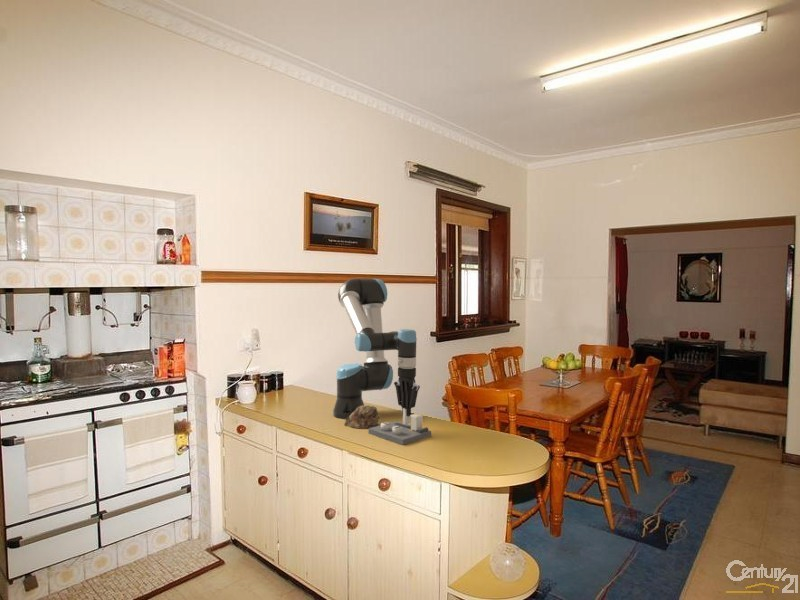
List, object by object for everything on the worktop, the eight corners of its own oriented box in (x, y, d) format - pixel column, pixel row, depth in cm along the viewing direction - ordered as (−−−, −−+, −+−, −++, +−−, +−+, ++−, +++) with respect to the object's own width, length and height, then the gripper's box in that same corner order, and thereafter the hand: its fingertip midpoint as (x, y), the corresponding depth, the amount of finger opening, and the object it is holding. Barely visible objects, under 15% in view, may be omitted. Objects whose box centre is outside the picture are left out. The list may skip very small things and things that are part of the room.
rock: (353, 422, 214) (340, 428, 205) (352, 403, 214) (339, 408, 205) (381, 424, 207) (368, 430, 198) (379, 405, 207) (367, 410, 198)
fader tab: (410, 429, 193) (410, 415, 193) (417, 427, 196) (417, 413, 196) (416, 431, 190) (416, 416, 190) (423, 429, 193) (423, 414, 193)
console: (368, 433, 195) (368, 422, 195) (397, 425, 206) (397, 415, 206) (402, 445, 180) (402, 433, 180) (431, 435, 192) (431, 424, 192)
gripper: (389, 366, 199) (389, 421, 200) (411, 370, 189) (411, 428, 190) (402, 363, 204) (401, 418, 205) (424, 368, 195) (424, 425, 196)
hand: (406, 423), depth 198 cm, fingers closed
